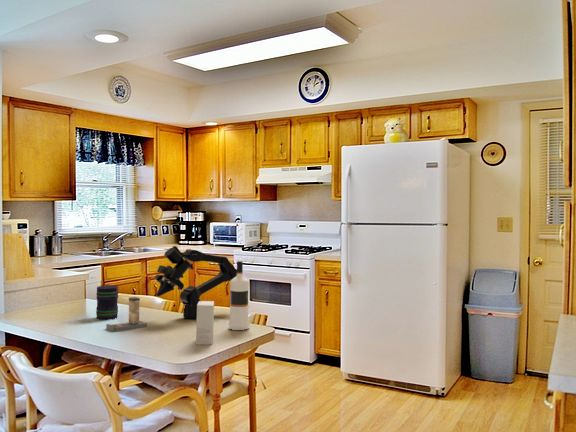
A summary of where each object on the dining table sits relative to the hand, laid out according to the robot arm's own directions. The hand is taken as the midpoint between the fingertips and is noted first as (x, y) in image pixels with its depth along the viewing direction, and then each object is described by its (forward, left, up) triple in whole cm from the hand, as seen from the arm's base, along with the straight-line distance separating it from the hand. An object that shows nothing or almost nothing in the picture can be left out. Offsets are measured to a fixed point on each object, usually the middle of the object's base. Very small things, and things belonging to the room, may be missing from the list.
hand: (157, 296), depth 226 cm
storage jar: (+27, -9, -13) cm, 31 cm away
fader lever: (+8, +8, -11) cm, 15 cm away
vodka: (-39, +7, -13) cm, 42 cm away
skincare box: (-29, +31, -13) cm, 44 cm away
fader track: (+10, +10, -13) cm, 19 cm away
